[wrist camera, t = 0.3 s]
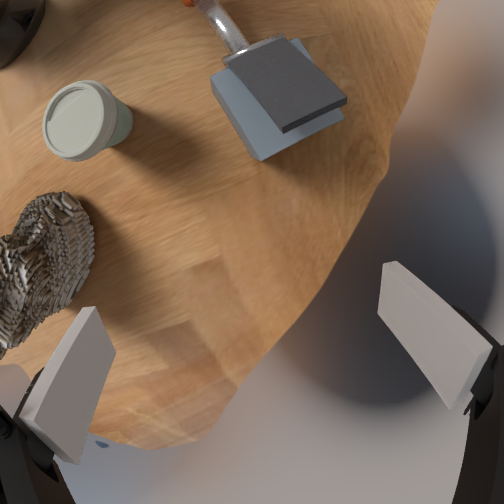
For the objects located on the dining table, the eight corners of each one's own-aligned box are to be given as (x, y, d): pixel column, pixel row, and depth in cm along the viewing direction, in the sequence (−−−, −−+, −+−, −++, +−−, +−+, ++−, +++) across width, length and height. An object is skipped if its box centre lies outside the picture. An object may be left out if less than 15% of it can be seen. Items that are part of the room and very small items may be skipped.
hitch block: (212, 92, 31) (209, 76, 23) (280, 59, 30) (298, 37, 22) (251, 156, 35) (261, 161, 27) (317, 122, 34) (344, 118, 26)
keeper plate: (223, 64, 23) (220, 56, 21) (280, 39, 22) (279, 30, 21) (280, 135, 20) (279, 127, 19) (348, 103, 20) (349, 94, 18)
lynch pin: (181, 5, 24) (176, -10, 20) (213, -9, 24) (213, -26, 19) (240, 91, 30) (243, 84, 25) (273, 75, 29) (281, 66, 25)
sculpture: (76, 314, 41) (12, 425, 18) (18, 274, 37) (-63, 360, 14) (115, 216, 36) (6, 317, 13) (46, 171, 32) (-84, 222, 9)
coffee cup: (146, 91, 30) (114, 71, 19) (141, 154, 33) (106, 161, 22) (89, 96, 29) (42, 84, 18) (85, 156, 32) (36, 165, 21)
